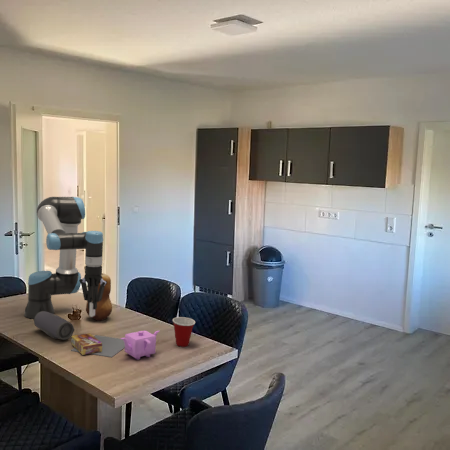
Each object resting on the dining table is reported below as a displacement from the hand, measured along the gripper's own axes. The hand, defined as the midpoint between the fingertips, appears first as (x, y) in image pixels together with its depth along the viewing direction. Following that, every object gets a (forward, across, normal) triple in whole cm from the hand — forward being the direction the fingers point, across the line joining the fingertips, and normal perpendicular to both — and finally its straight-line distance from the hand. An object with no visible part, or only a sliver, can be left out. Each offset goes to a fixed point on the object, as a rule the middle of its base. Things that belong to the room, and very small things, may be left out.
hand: (92, 315), depth 228 cm
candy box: (+11, -5, -1) cm, 12 cm away
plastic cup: (+14, +39, +16) cm, 44 cm away
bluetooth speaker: (+14, -22, +3) cm, 26 cm away
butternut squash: (+14, -15, +34) cm, 40 cm away
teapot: (+14, +26, -4) cm, 30 cm away
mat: (+13, +6, 0) cm, 15 cm away
